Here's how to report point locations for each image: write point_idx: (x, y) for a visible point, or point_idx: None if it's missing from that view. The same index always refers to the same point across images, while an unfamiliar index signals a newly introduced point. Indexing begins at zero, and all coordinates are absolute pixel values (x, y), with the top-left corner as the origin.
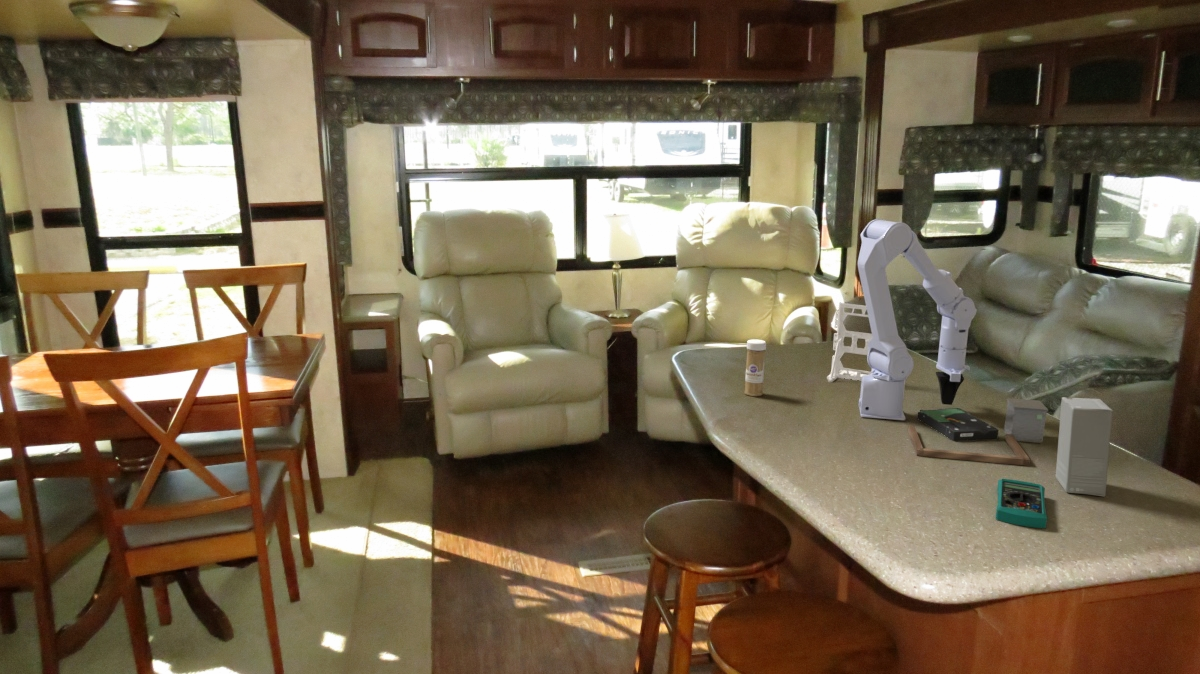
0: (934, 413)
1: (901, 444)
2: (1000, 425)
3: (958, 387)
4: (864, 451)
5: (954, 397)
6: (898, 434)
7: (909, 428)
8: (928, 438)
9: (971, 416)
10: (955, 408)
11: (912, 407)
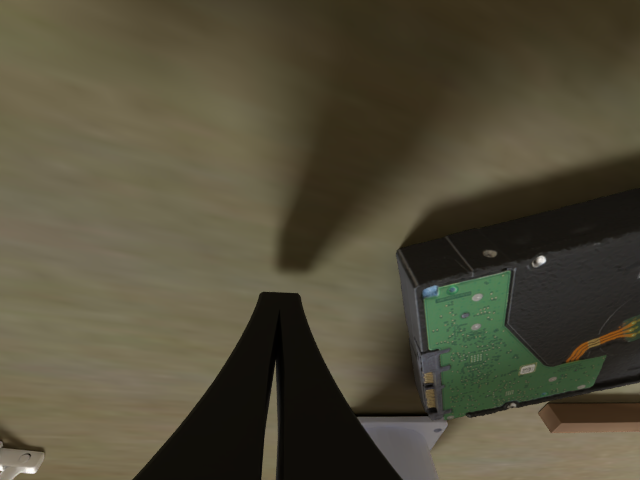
0: (487, 388)
1: None
2: (611, 11)
3: (353, 415)
4: (631, 469)
5: (307, 328)
6: None
7: (575, 432)
8: None
9: (590, 258)
10: (421, 306)
11: None
